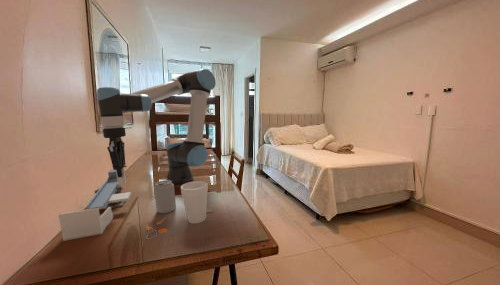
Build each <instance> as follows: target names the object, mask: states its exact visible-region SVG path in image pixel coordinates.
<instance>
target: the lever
mask: <svg viewBox="0 0 500 285" xmlns="http://www.w3.org/2000/svg"><path fill="white" fill-rule="evenodd" d="M107 174H108V177H107V179H105V181H104V182H103V184H102V185H101V186H100V187H99V188H100V189H99V188H98V189H99V190H98V192H97V193H94V195H93V197H92V198H91V199H90V200H89V202H88V203H87V204H86V208H87V209H94V208H99V209H103V208H106V207H107V206H108V204H109V203H113V202H120V201H126V202H127V201H129V200H130V198H131V196H132V191H128V192H127V191H126V192H121V193H120V194H115V192H116V191H117V187H118V186H121V184H120V185H118V181H117V175H116V170H113V169H109V171H108V172H107ZM87 209H86V210H87ZM103 210H104V209H103Z"/></svg>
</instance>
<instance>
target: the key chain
mask: <svg viewBox="0 0 500 285" xmlns="http://www.w3.org/2000/svg"><path fill="white" fill-rule="evenodd" d="M165 220H167V217H163V218H162V219H161V220H159V221H157V222H156V224H154V225H153V226H154V227H153V226H149V228H147V229H146V228H145V231H147V230H148V231H147V234H146V236H145V240H151V239H155V238H157V237H158V233H159V234H162V233H165V232H166V231H167V228H165V227H164V228H160V229H159V230H158V229H157V228H156V227H155V226H157V225H161V224H163V222H164V221H165ZM152 227H153V228H154V229H152ZM154 231H155V232H154ZM153 233H155V236H152V237H150V238H149V234H153Z"/></svg>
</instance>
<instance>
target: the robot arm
mask: <svg viewBox="0 0 500 285" xmlns="http://www.w3.org/2000/svg"><path fill="white" fill-rule="evenodd" d="M216 83H217V82H216V78H215V75H214V74H213V72H212V71H211V70H209V69H207V68H198V69H197V70H192V71H188V72H185V73H183V74H181V75H179V76H176V77H174V78H171V80H170V81H167V82H163V83H161V84H157V85H153V86H151V87H147V88H145V89H141V90H138V91H135V92H132V93H121V91H120V89H119V88H118V87H114V86H113V87H112V86H111V87H109V86H108V87H107V86H105V87H99V88H97V90H96V98H97V102H98V103H97V105H98V109H99V115H100V119H99V122H100V123H101V126H102V127H103V129H102V134H103V138H105V139H109V140H108V141H109V142H108V145H109V146H107V151H108V153H109V157H110V161H111V166H112V170H116V175H117V181H118V185H120V186H121V185H126V184H127V178H126V177H127V176H126V170H125V168H127V165H126V153H125V152H126V150H125V142H124V141H123V139H122V137H126V135H127V133H126V128H125V127H124V126H125V120H124V119H125V118H124V114H125V113H127V114H128V113H135V112H136V113H138V112H139V113H141V112H143V113H144V112H149V111H151V109H152V107H153V103H156V102H159V101H161V100H162V101H163V100H165V99H168V98H169V97H173V96H175V95H177V96H181V95H184V94H190V96H191V99H190V107H189V113H188V114H189V115H188V122H187V132H186V138H184V140H183V141H180V142H179V141H178V142H174V143H168V144H167V145H166V153H167V162H168V163H167V164H168V171H167V176H166V180H170V181H172V183H173V184H174V185H179V184H180V185H181V184H182V185H183V184H186V183H189V182H192V181H193V180H194V174H193V172H192V169H191V167H200V166H203V164H205V163H206V161H207V159H208V157H209V152H208V151H209V150H208V149H207V147H206V146H205V144H206V142H205V141H204V140H203V139H204V138H203V137H204V128H205V120H206V119H205V118H206V110H207V102H208V98H209V97H210V96H211V91H212V90H214V88H215V87H216Z"/></svg>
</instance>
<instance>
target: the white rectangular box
mask: <svg viewBox="0 0 500 285" xmlns="http://www.w3.org/2000/svg"><path fill="white" fill-rule="evenodd" d="M58 218H59V219H58V220H59V225H60V230H61V235H62V241H63V242H66V241H70V240H71V241H72V240H77V239H82V238H87V237H92V236H98V235H102V234H103V233H104V232H105V230H106V229H107V227H108V226H109V225H110V224H111V222H112V221H113V220H114V213H113V211H112V208H111V207H108V208H107V209H105V210H104V212H103V213H100V210H99V208H94V209H82V210H81V209H80V210H75V211H68V212H62V213H61V212H60V213H59V214H58Z"/></svg>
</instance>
